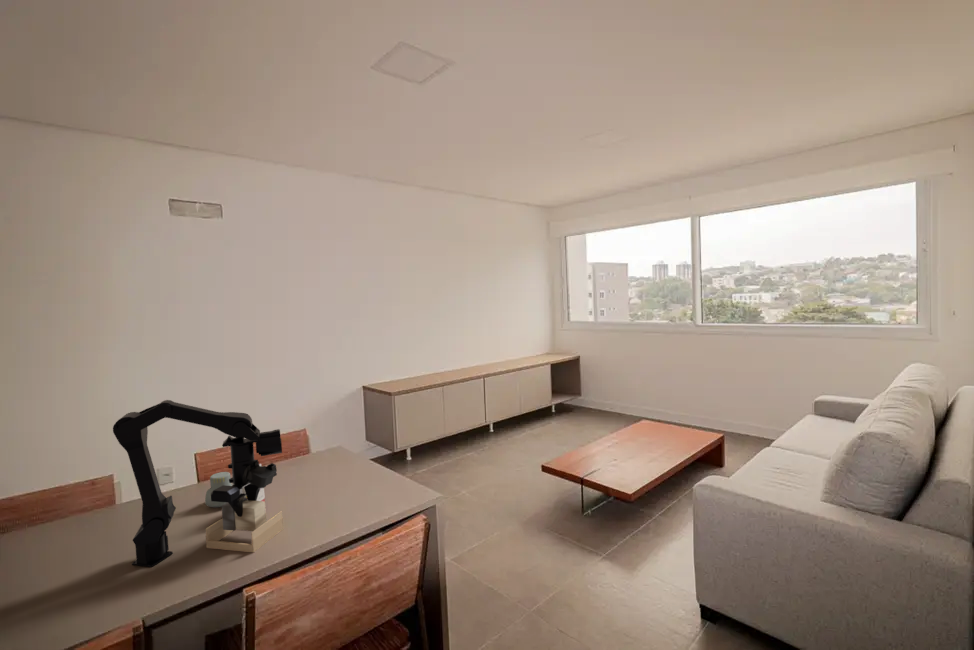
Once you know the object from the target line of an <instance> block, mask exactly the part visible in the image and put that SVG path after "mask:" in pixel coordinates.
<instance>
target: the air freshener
mask: <svg viewBox="0 0 974 650" xmlns="http://www.w3.org/2000/svg"><path fill="white" fill-rule="evenodd" d="M230 478H231V473H230V472H229V471H221V472H216V473H213V474H212V475H211V476H210V478H209V483H210V488H209V489H207V490H206V493H205V502H204V503H205V505H206V506H207V507H210V508H213V509H216V508H222V505H223V504H225V503H227V502H214V501H211V493H212V491H213V490H215V489H217V488H219V487H221V486H223V485H226V486H232V483H229V479H230Z"/></svg>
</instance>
